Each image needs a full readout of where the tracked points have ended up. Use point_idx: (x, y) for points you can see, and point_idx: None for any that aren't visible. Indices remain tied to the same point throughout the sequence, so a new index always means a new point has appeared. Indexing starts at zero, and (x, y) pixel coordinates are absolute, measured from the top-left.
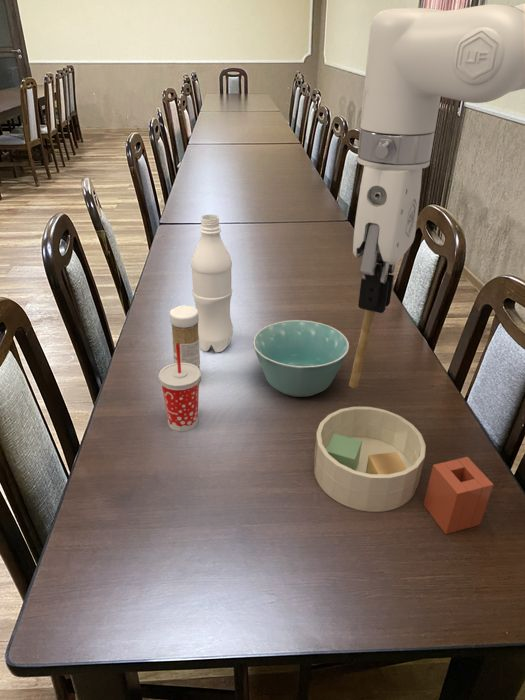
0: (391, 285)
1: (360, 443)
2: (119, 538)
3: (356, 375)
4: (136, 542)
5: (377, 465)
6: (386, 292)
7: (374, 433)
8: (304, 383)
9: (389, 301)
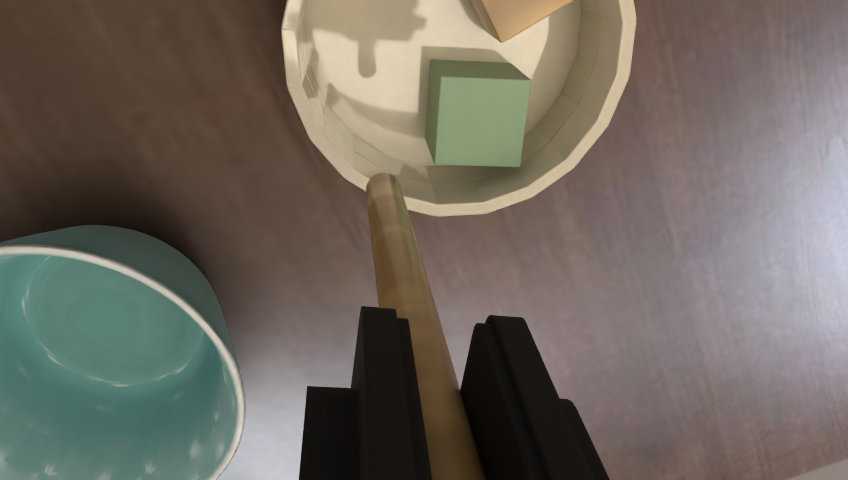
0: (407, 430)
1: (455, 78)
2: (738, 417)
3: (405, 203)
4: (743, 392)
5: (541, 8)
6: (573, 433)
7: (305, 38)
8: (215, 305)
9: (387, 322)
